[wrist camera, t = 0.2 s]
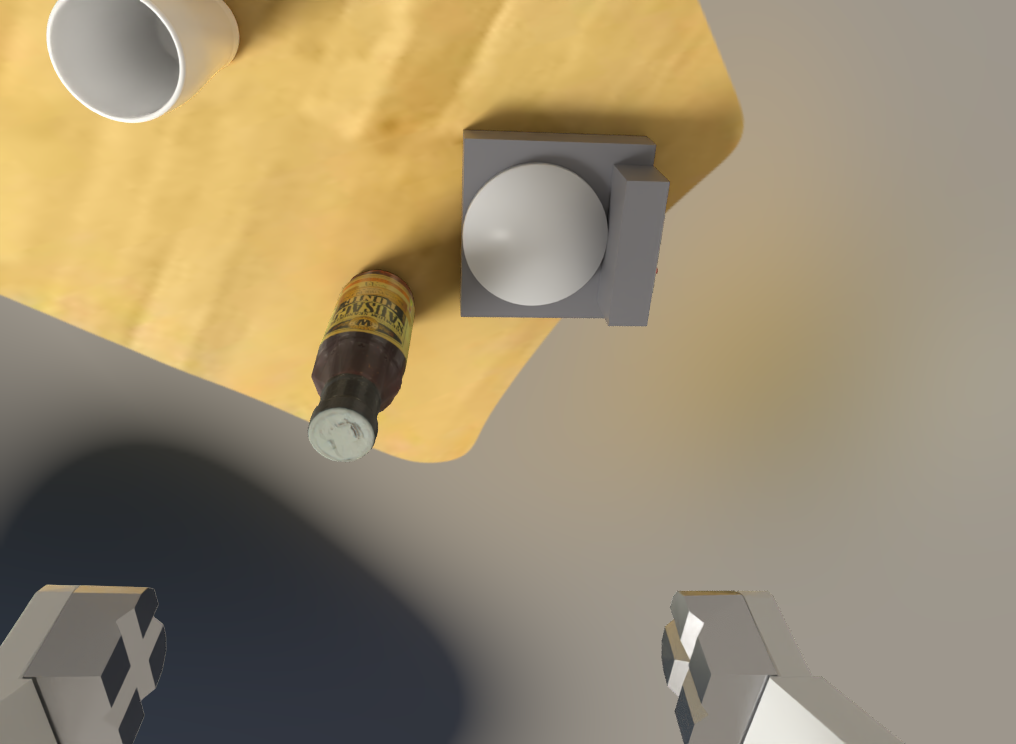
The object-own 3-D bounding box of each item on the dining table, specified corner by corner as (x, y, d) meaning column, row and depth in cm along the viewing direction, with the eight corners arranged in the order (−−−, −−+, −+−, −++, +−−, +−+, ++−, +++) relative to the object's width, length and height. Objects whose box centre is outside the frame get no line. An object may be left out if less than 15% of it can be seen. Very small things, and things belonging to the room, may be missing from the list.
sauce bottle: (419, 270, 59) (410, 397, 42) (411, 337, 62) (400, 482, 45) (337, 260, 58) (294, 386, 41) (334, 329, 61) (292, 473, 44)
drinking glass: (127, -1, 48) (12, 14, 35) (216, -45, 48) (131, -46, 35) (187, 98, 52) (102, 145, 39) (271, 58, 51) (213, 93, 38)
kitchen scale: (463, 129, 54) (466, 153, 48) (650, 136, 56) (678, 160, 49) (460, 301, 61) (462, 342, 55) (626, 303, 62) (648, 343, 56)
